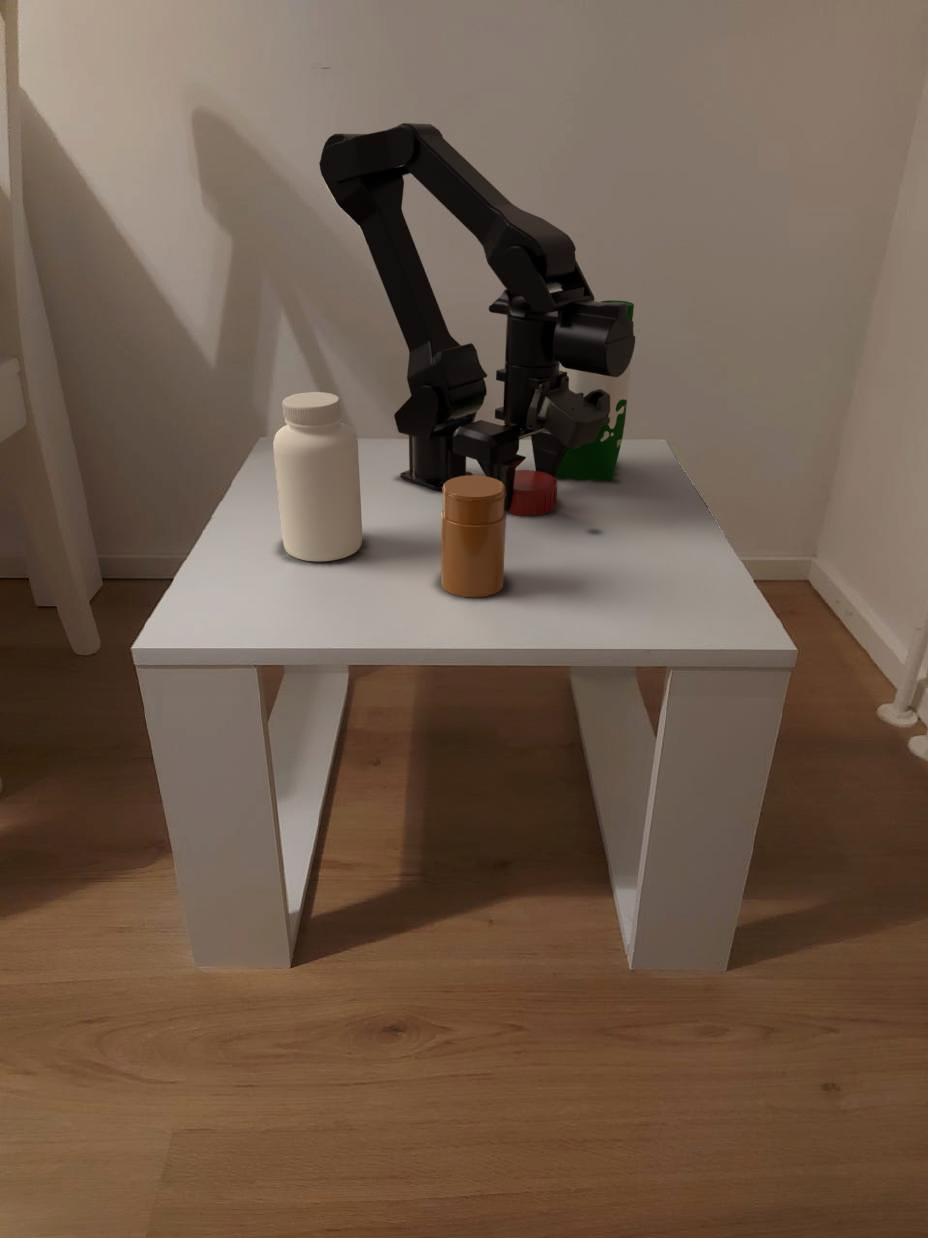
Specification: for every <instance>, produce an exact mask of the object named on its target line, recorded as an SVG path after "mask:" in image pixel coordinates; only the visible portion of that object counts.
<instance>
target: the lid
mask: <svg viewBox="0 0 928 1238" xmlns="http://www.w3.org/2000/svg"><path fill="white" fill-rule="evenodd" d="M557 496H558V480H557V478H555V477H553V476H552V475H550V474H547V473H544V472H540V471H536V470H534V469H532V470H531V469H516V470H515V479H514V488H513V496H512V502H511V507H510V510H509V511H505V513H506V514H507V513H508V514H512V515H515V516H538V515H540V516H541V515H544V514H548V513H550V512H552V511H553V510H554V509H555V508H556V505H557V498H558V497H557Z"/></svg>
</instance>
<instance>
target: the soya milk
mask: <svg viewBox="0 0 928 1238" xmlns="http://www.w3.org/2000/svg"><path fill="white" fill-rule="evenodd" d="M600 302H603V303H612V302H620V303H626V304H627V305H628V308H627V317H628V318H629V319H630V321H631V323H632V326H633V327H634V325H635V324H634V321H633V318H634V308H635V303H633V302H630V301H627V300H626V301H625V300H613V299H612V300H602V301H600ZM631 364H632V360H631V361H630V363H629V365H628V367H627V369H626V370H625V371H624V373H623V374H622V375H620V376H619V377H611V376H605V375H600V374H594V373H589V372H583V371H578V370H573V369H567V368H564V367H563V366H562V365H561V364H560V365H559V371H564V372H567V376H568V377H569V390H571V391H572V392H574V393H576V394H578V393H581V392H582V393H583V394H584V396H583V397H585V396H586V395H587V394H588V393H590V392H591V391H595V390H598V389H602V390H603V391H605V392H606V393H608V394H609V395H610V413H609V416H608V417H609V418H610V422H609V424H607V425H605V426H602V427H601V428H600V430H599V432H598V435H597V437H596V439H595V441H594V442H592V443H590V442H589V443H586V444H583V445H581V446H580V447H579V448H576V449H572V448H568V450H567V451H566V454H565V456H564V458H563V460H562V462H561V465H560V467H559V470H558V472H557V475H556V477H555V478H556V479H570V480H571V479H572V480H585V481H601V482H613V479H614V476H615V472H616V467H617V463H618V460H619V456H620V451H621V447H622V442H623V438H624V437H623V436H624V430H625V425H626V415H627V408H628V396H629V388H630V378H631Z"/></svg>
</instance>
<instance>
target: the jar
mask: <svg viewBox="0 0 928 1238" xmlns="http://www.w3.org/2000/svg"><path fill="white" fill-rule="evenodd" d="M441 491H442V493H443V506H442V507H443V509H442V511H441V512H440V513H441V514H440V521H441V522H440V551H441V552H440V584H441V588H442V589H443V590H445V591H446V592H448V593H449V594H452V595H454V596H456V597H457V596H458V597H463V598H473V599H476V598H485V597H489V596H492V595H495V594H497V593H498V592H499V591H501V590H502V589H503V587H504V581H505V580H504V579H505V577H504V576H505V555H506V553H505V552H506V532H507V531H506V530H507V529H506V528H507V527H506V526H507V512H505V511H504V501H505V496H506V491H505V485H504V484H503V483H502V482H501V481H499V480H497V479H494V478H491V477H486V476H485V475H474V474H473V475H471V476H460V477H455V478H452V479H450V480H448V481H446V482H445V483H444V486H443V488H442V489H441Z"/></svg>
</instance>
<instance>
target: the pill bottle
mask: <svg viewBox="0 0 928 1238" xmlns="http://www.w3.org/2000/svg"><path fill="white" fill-rule="evenodd" d="M281 405H282V414H283V417H284V422H285V423H286V425H285V424H284V426H282V427H281V428H280V429H279V430H278V431H277V432H276V433H275V435H274V438H273V441H272V442H273V443H272V447H273V449H272V450H273V458H274V467H275V478H276V489H277V497H278V508H279V517H280V528H281V538H282V543H283V548H284V549H285V551H286V553H287V554H288V555H289V556H291V557H294V558H295V559H297V560H302V561H307V562H331V561H337V560H340V559H341V560H342V559H345V558H347V557H349V556H352V555H353V554H355V553H356V552H357V551H359V549H360V548H361V546H362V543H363V519H362V500H361V497H362V496H361V479H360V461H359V458H360V457H359V443H358V438H357V435H356V432H355V431H354V430H353V429H352V428H351V427H350V426H348V425H347V424H345V423H344V422H342V421H343V415H342V406H341V405H342V403H341V399H340V397H339V396H338V395H336V394H333V393H329V392H323V391H309V392H300V393H295V394H291V395H288V396H287V397H285V398H284V399H283V400H282V403H281Z"/></svg>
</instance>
